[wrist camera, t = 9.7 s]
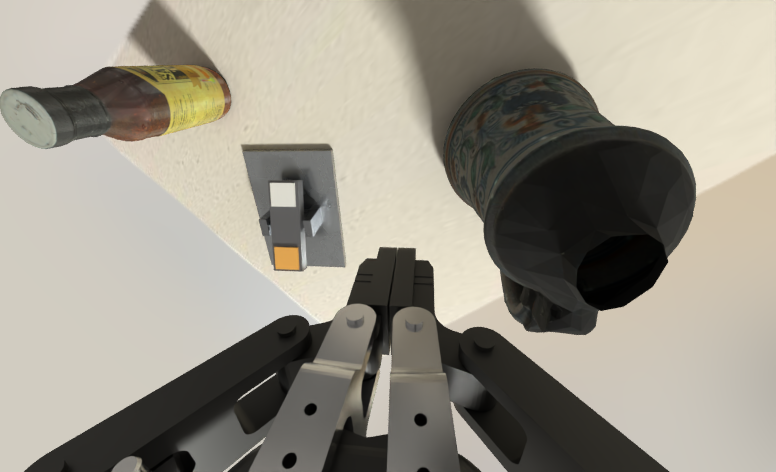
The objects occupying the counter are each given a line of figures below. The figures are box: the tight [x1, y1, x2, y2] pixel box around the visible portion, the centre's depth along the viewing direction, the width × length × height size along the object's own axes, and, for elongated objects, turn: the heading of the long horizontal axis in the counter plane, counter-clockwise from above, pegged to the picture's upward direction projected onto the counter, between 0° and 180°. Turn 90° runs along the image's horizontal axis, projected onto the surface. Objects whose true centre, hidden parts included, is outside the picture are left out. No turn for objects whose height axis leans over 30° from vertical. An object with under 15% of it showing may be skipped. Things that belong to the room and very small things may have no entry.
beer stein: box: [444, 69, 696, 335], centre depth 27 cm, size 16×19×25 cm
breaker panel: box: [243, 150, 346, 267], centre depth 43 cm, size 18×12×5 cm, turn 2°
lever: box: [268, 180, 307, 271], centre depth 41 cm, size 12×4×2 cm, turn 2°
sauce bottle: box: [0, 65, 231, 149], centre depth 30 cm, size 6×6×20 cm
